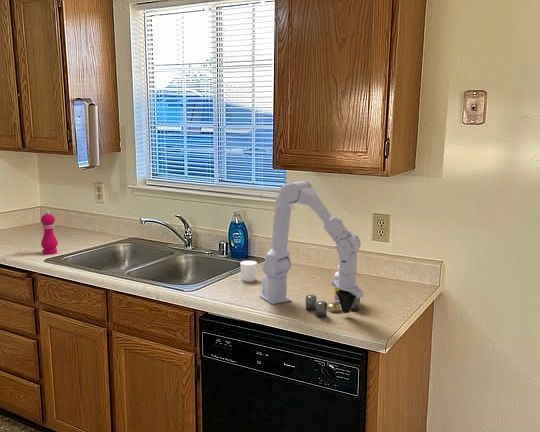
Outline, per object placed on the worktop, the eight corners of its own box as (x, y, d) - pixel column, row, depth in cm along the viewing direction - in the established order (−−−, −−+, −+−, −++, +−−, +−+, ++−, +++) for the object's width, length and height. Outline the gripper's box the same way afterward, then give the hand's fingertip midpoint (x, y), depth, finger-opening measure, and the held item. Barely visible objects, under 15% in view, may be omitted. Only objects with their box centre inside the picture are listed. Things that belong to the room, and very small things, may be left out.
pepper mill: (42, 255, 252) (39, 212, 248) (40, 252, 258) (37, 210, 254) (59, 253, 255) (56, 211, 252) (57, 250, 262) (54, 209, 258)
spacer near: (303, 308, 187) (303, 295, 187) (312, 306, 189) (312, 294, 188) (309, 311, 184) (309, 298, 184) (318, 309, 186) (318, 297, 185)
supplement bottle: (350, 297, 199) (352, 263, 197) (354, 303, 192) (355, 268, 190) (332, 297, 199) (333, 263, 196) (335, 303, 192) (336, 268, 190)
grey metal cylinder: (346, 308, 188) (347, 296, 187) (355, 306, 189) (355, 294, 189) (353, 311, 185) (353, 299, 184) (361, 310, 186) (362, 297, 185)
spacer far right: (313, 315, 181) (314, 302, 180) (322, 313, 183) (323, 300, 182) (319, 318, 178) (320, 305, 177) (329, 316, 180) (329, 303, 179)
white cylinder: (236, 279, 220) (236, 262, 218) (249, 275, 224) (249, 259, 223) (247, 283, 215) (247, 265, 213) (260, 279, 219) (260, 262, 218)
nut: (324, 309, 187) (324, 303, 187) (334, 307, 189) (335, 301, 189) (331, 313, 184) (332, 307, 183) (342, 311, 186) (342, 305, 185)
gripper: (371, 276, 173) (369, 317, 176) (344, 265, 186) (342, 303, 188) (353, 279, 170) (352, 321, 172) (326, 268, 182) (325, 306, 185)
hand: (345, 312), depth 180 cm, fingers closed
